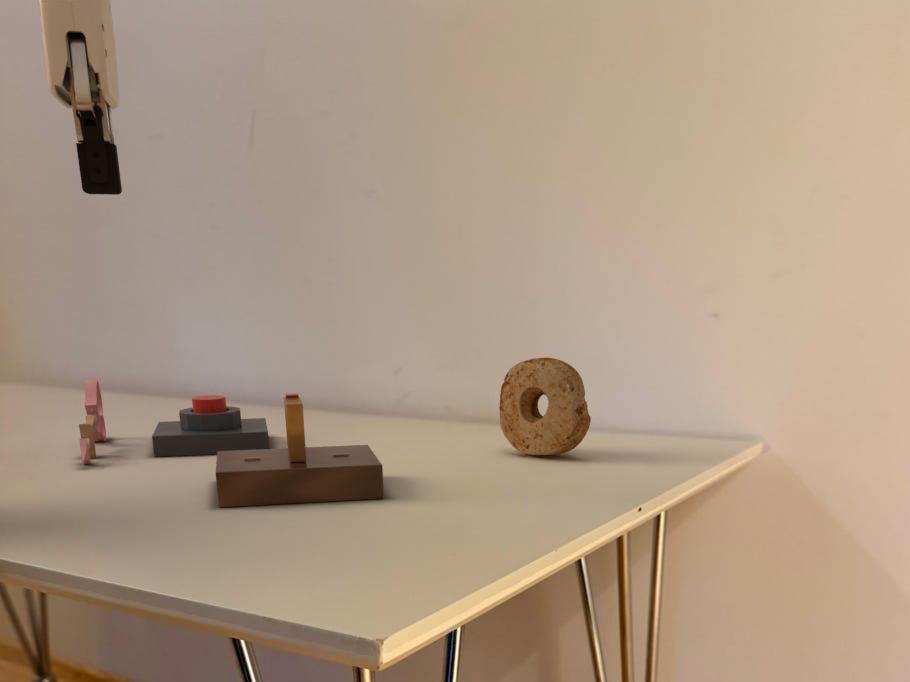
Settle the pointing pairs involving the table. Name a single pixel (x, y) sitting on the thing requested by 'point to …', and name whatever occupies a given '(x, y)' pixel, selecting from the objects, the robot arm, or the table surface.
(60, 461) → the table surface
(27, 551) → the table surface
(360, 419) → the table surface
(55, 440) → the table surface
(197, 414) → the confirm box
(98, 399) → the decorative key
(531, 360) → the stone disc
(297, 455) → the thumbturn
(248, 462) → the plate
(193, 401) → the button
